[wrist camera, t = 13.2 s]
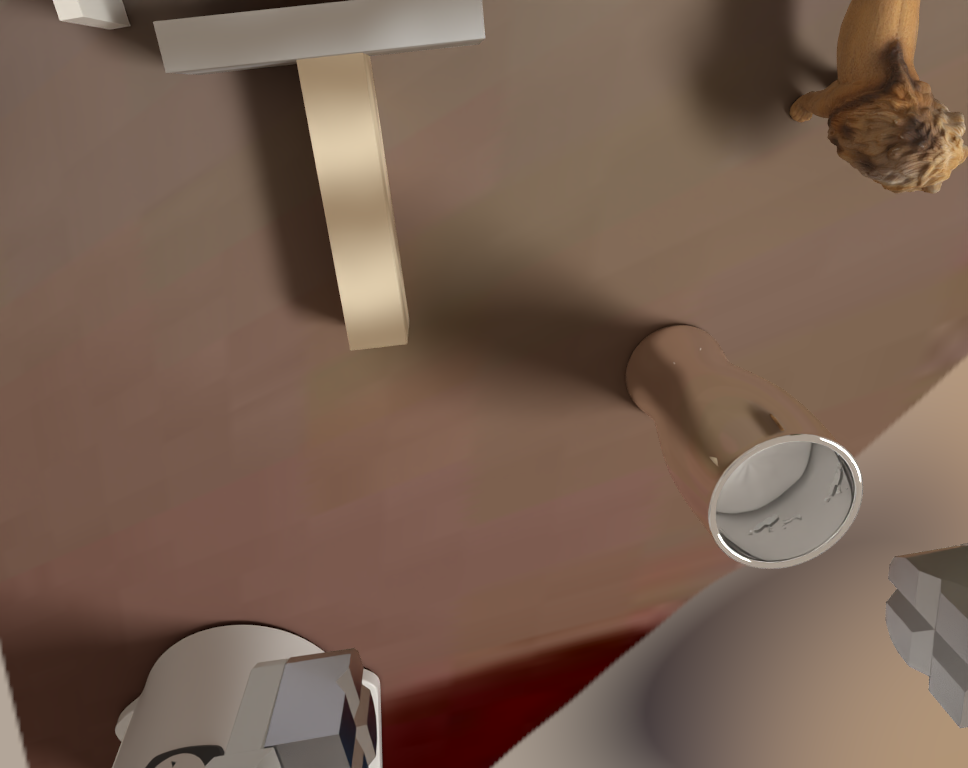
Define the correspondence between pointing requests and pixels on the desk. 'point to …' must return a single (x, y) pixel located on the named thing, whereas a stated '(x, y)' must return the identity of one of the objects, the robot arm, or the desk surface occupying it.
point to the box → (93, 13)
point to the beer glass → (743, 451)
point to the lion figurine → (886, 102)
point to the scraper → (337, 121)
